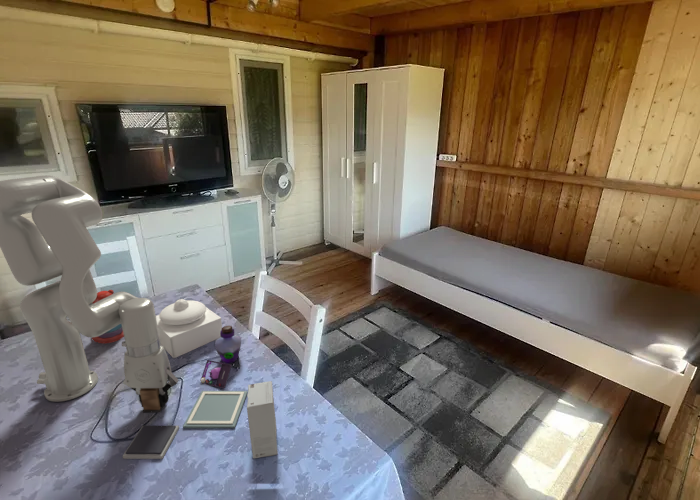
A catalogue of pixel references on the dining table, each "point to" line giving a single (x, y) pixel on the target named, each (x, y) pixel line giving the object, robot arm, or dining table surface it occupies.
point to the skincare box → (262, 419)
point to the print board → (216, 409)
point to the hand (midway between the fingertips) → (155, 402)
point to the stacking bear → (115, 332)
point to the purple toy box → (216, 374)
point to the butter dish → (187, 326)
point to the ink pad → (151, 442)
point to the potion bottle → (228, 345)
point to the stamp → (150, 400)
